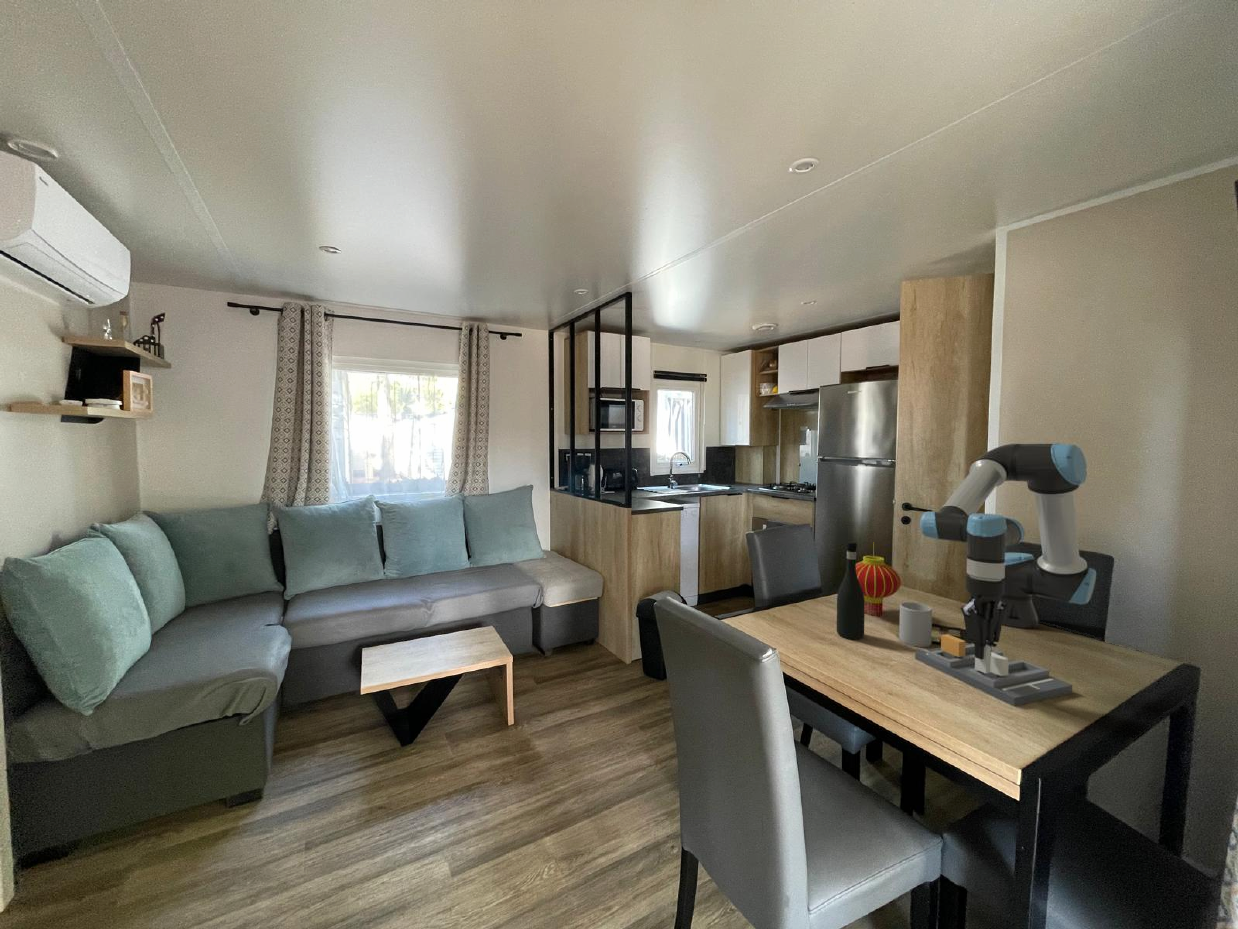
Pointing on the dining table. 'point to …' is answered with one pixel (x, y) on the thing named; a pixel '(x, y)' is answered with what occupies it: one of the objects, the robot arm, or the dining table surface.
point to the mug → (915, 624)
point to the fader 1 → (952, 647)
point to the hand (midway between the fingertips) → (982, 670)
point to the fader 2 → (997, 666)
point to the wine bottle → (850, 600)
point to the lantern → (876, 581)
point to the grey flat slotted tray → (1013, 688)
